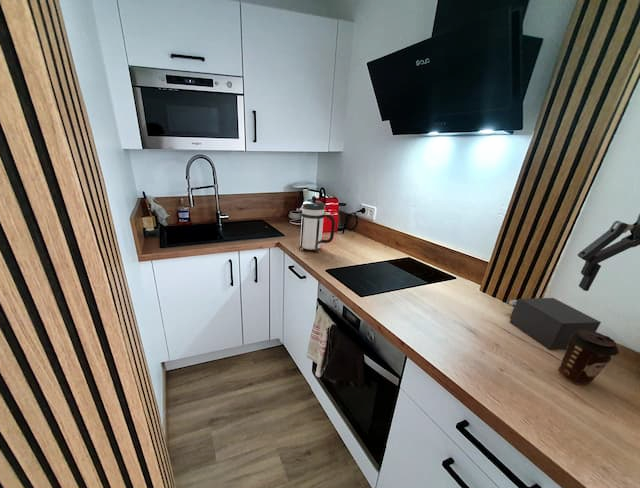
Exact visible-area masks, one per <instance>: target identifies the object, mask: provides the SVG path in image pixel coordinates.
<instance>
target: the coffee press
mask: <svg viewBox="0 0 640 488" xmlns="http://www.w3.org/2000/svg"><path fill="white" fill-rule="evenodd" d="M325 210H326V206H325V203H324V202H322V201H319V200H317V196H312V197H311V199H310V200H306V201H304V202H303V203H302V204H301V207H300V208H299V211H301V224H300V225H301V227H300V240H299V241H300V242H299V243H300V244H299V247H298V251H300V252H301V251H303V250H310V251H312V250H313V251H314V253H315V254H318V253H319V249H322V247H323V246H322V244H329V243H331V242H332V241H333V239H334V236H335V228H336V220H335V218H334V216H333V215H331V214H325ZM324 218H326V219H329V220H330V221H331V227H330V236H329V238H328V239H323V230H324Z"/></svg>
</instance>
